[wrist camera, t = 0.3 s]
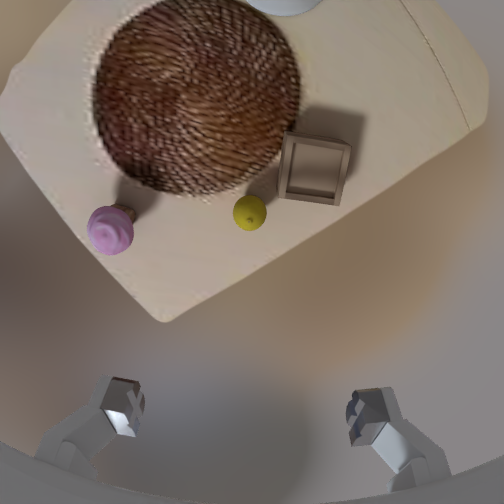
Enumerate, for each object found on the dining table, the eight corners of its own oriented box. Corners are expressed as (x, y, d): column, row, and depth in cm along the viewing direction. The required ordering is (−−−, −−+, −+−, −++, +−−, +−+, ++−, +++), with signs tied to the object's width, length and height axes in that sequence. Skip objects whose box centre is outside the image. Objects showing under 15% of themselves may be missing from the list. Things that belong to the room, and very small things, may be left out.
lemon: (268, 192, 54) (270, 208, 47) (262, 221, 57) (263, 241, 50) (237, 186, 54) (234, 202, 47) (232, 215, 57) (228, 235, 50)
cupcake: (147, 201, 56) (127, 223, 47) (141, 241, 60) (123, 268, 51) (105, 190, 55) (80, 210, 46) (102, 230, 59) (79, 254, 50)
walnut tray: (284, 130, 49) (287, 135, 44) (342, 140, 50) (351, 146, 44) (276, 186, 54) (278, 197, 49) (331, 194, 55) (339, 206, 49)
